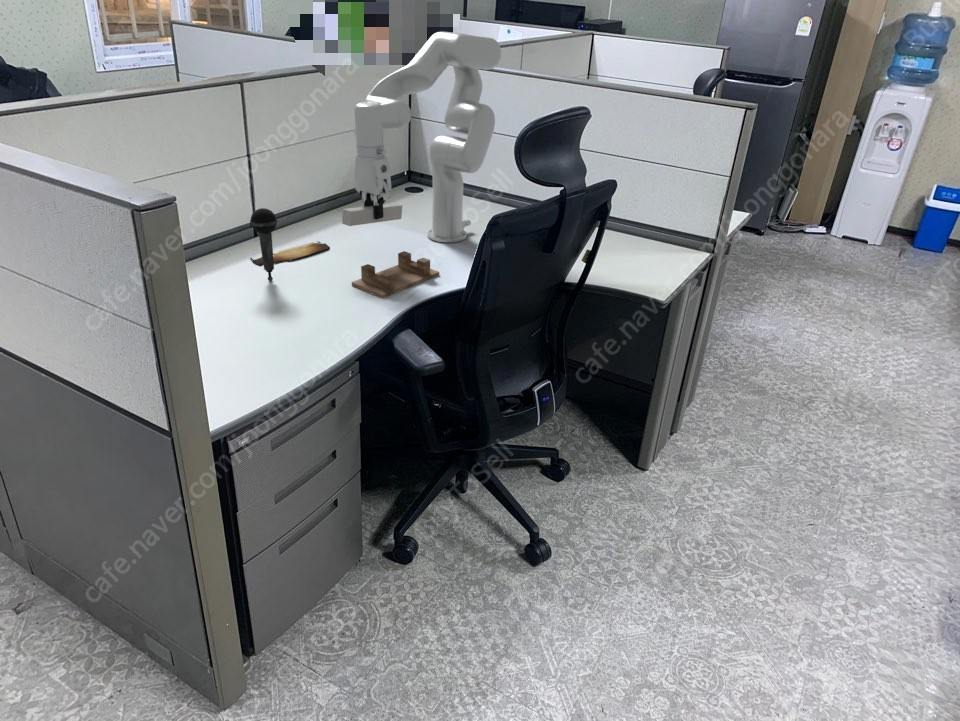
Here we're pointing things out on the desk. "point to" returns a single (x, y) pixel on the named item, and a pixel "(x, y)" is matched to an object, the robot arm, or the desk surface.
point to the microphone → (265, 236)
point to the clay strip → (370, 214)
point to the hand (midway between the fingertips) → (374, 216)
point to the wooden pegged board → (395, 276)
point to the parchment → (294, 252)
